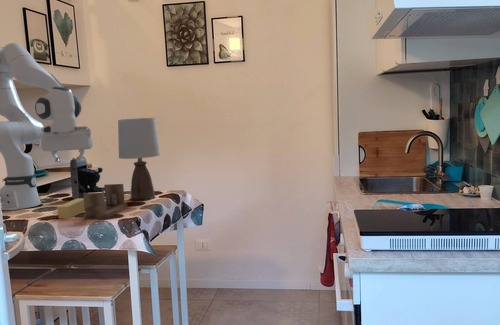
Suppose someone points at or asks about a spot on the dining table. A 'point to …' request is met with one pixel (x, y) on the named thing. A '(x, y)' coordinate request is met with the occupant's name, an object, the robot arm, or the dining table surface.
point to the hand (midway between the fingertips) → (68, 161)
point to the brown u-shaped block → (96, 202)
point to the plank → (71, 208)
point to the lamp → (139, 152)
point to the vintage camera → (83, 178)
